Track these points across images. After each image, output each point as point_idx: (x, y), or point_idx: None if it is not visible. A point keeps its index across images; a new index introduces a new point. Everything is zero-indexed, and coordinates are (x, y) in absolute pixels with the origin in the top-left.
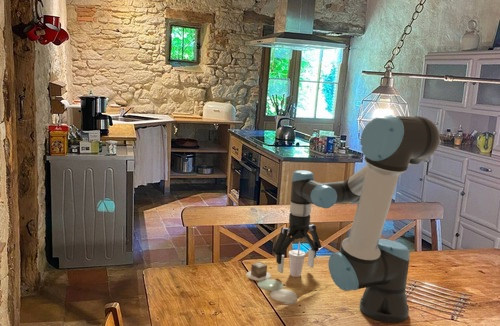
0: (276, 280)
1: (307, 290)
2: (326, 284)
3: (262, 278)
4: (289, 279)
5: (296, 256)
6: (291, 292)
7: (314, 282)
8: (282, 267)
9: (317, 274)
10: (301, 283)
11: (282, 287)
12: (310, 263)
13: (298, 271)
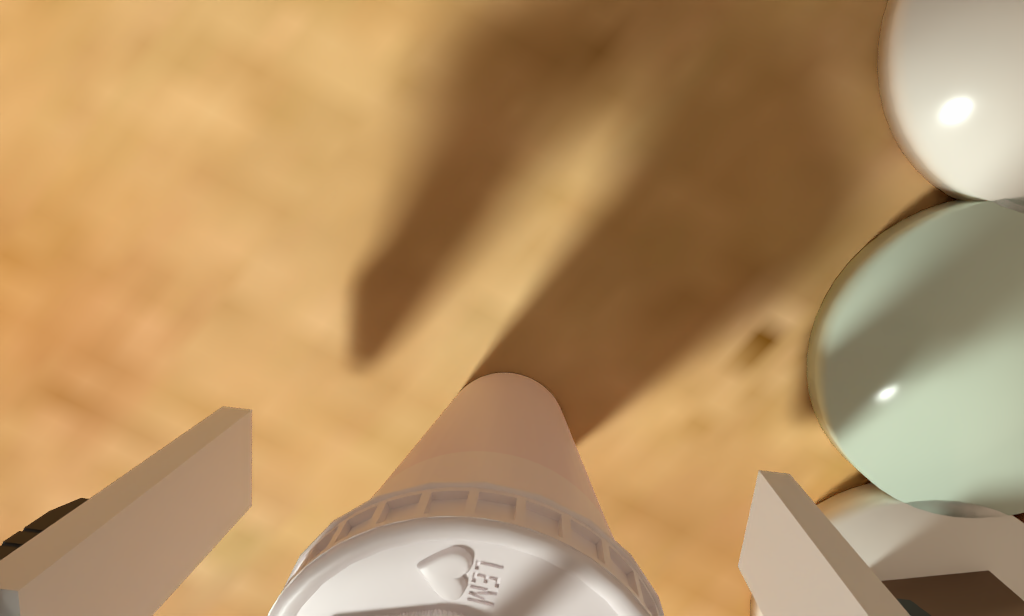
0: (841, 424)
1: (609, 78)
2: (270, 98)
3: (948, 546)
4: (598, 422)
5: (607, 574)
6: (941, 41)
7: (375, 217)
8: (814, 524)
9: (202, 370)
10: (541, 272)
11: (927, 229)
12: (222, 474)
13: (518, 403)
